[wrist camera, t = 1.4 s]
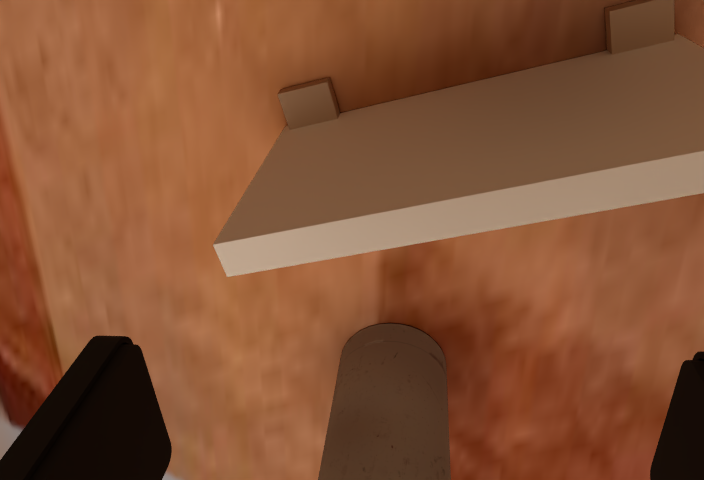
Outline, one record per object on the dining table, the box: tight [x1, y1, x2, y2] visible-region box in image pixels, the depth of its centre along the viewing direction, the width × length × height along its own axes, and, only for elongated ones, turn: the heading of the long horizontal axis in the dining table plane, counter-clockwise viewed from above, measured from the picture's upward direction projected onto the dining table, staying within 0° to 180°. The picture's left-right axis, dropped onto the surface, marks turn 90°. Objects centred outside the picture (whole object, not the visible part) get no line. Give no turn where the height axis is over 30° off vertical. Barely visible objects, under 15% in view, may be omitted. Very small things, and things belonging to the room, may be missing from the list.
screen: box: [213, 0, 704, 277], centre depth 27 cm, size 22×6×14 cm, turn 105°
